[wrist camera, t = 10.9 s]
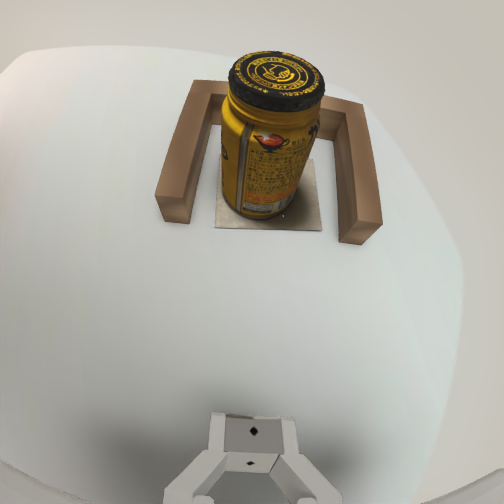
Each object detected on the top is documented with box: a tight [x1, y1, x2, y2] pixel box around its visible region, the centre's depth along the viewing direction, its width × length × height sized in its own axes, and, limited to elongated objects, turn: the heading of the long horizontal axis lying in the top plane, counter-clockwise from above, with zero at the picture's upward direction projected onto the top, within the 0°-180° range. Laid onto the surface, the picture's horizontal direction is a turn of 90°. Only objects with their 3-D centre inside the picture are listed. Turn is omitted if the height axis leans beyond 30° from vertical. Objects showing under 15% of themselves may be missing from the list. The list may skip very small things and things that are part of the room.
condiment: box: [215, 51, 325, 230], centre depth 19 cm, size 7×8×12 cm
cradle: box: [155, 80, 383, 245], centre depth 24 cm, size 16×13×4 cm
